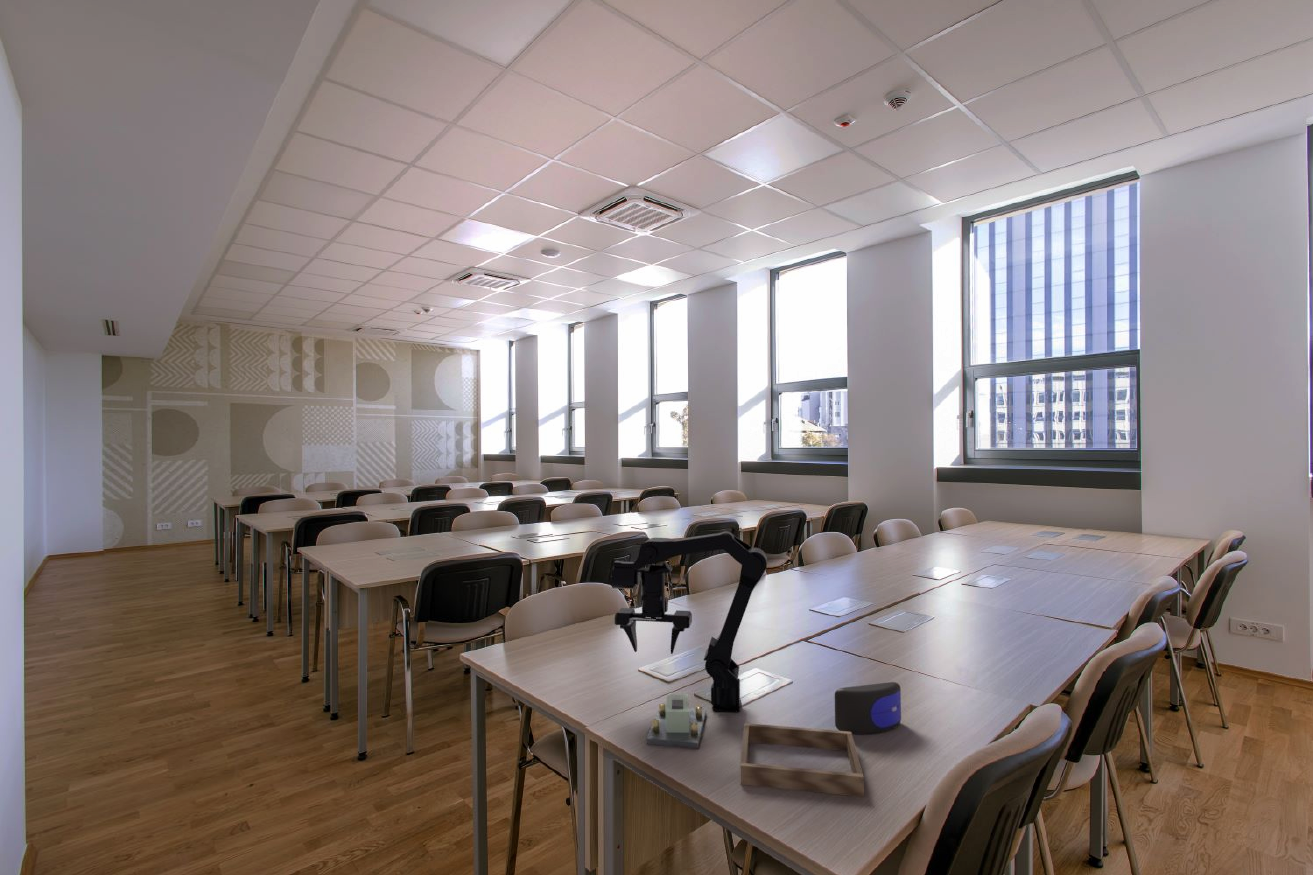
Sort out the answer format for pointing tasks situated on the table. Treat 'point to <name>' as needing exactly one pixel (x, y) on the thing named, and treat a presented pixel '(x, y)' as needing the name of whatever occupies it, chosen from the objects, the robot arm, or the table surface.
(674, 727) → the pale green block
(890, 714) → the black and blue case
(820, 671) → the table surface
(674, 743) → the chassis
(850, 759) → the storage tray
